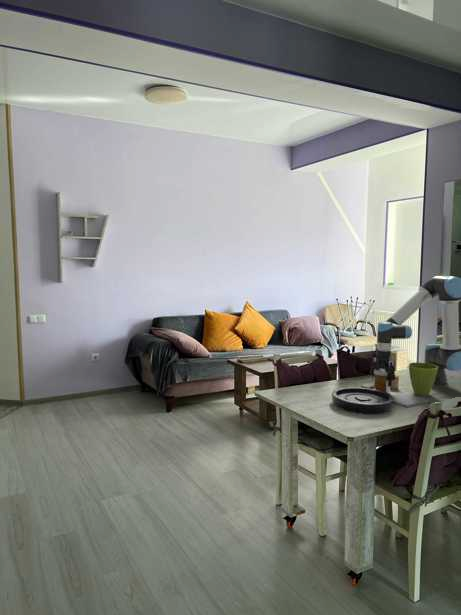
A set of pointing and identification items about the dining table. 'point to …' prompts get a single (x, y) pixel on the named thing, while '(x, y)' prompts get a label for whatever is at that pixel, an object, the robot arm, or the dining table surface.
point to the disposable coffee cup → (380, 379)
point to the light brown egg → (395, 383)
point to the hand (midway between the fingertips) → (381, 389)
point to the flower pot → (422, 377)
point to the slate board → (408, 400)
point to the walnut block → (367, 386)
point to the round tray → (362, 400)
